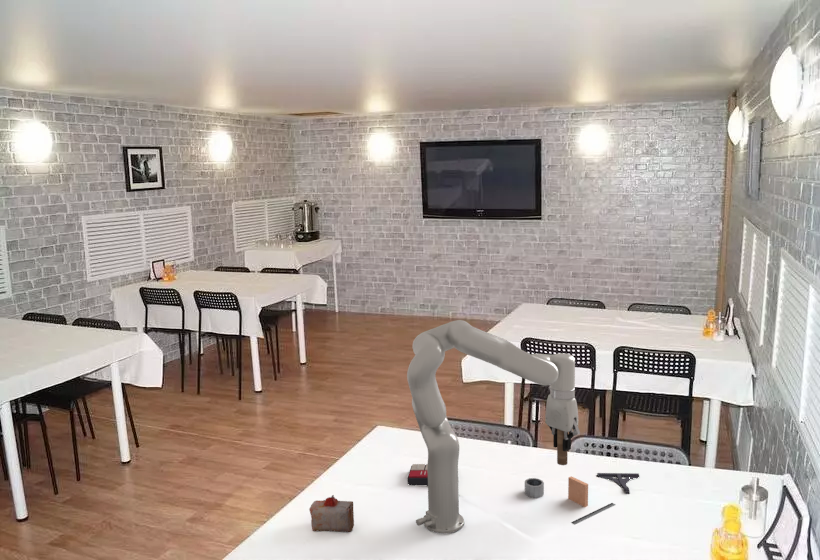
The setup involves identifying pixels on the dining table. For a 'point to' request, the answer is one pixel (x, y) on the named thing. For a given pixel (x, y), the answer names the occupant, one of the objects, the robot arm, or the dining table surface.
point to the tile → (578, 491)
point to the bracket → (619, 478)
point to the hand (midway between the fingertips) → (562, 447)
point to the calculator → (418, 475)
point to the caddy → (534, 488)
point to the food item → (332, 515)
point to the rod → (561, 449)
